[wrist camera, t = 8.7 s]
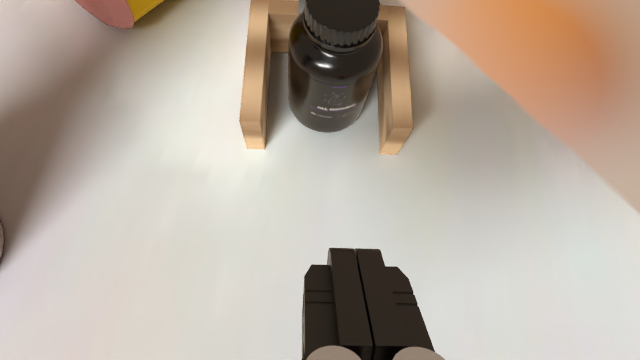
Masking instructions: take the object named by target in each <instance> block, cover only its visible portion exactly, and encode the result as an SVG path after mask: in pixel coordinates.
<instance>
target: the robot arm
mask: <svg viewBox="0 0 640 360" xmlns="http://www.w3.org/2000/svg"><path fill="white" fill-rule="evenodd" d="M3 243H4V237H3V228H2V225H1V223H0V258H1V255H2V250H3ZM302 360H445V359H444V358H443V357H441V356H440V355H439V354H437V353H435V351H434V348H433V346H432V343H431V340H430V337H429V334H428V332H427V329H426V326H425V323H424V321H423V318H422V315H421V312H420V309H419V307H418V306H417V301H416V298H415V296H414V295H413V290H412V287H411V284H410V282H409V279H408V278H407V277H406V276H405V275H404V274H403V272H402V271H401V270H400V269H399V268H398V267H385V265H384V261H383V258H382V254H381V251H380V250H379V249H351V248H329V251H328V261H327V265H311V267H310V268H309V270H308V271H307V273H306V275H305V277H304V294H303V311H302Z"/></svg>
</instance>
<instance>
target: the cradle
mask: <svg viewBox="0 0 640 360" xmlns="http://www.w3.org/2000/svg"><path fill="white" fill-rule="evenodd" d="M304 7H305V0H299V1H295V0H251V4H250V14H249V25H248V35H247V46H246V57H245V67H244V78H243V89H242V99H241V110H240V120H239V121H240V125H241V128H242V132H243V136H244V139H245V143H246V147H247V149H265V137H266V122H267V108H268V93H269V78H270V64H271V52H281V53H288V42H289V33H290V29H291V27H292V24H293V22H294V21H295V19H296V18H297V17H298V15H299V14H300V13H301V12H302V11H303V10H304ZM377 25H378V27H379V29H380V31H381V35H382V39H383V51H382V55H381V59H380V62H379V64H378V67H377V89H378V116H379V142H380V154H398V152H399V150H400V149H401V147H402V146H403V144H404V142H405V141H406V139H407V138H408V136H409V134H410V133H411V131H412V130H413V119H412V104H411V90H410V76H409V61H408V47H407V32H406V18H405V7H395V6H380V13H379V17H378V20H377Z"/></svg>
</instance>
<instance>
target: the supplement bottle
mask: <svg viewBox="0 0 640 360" xmlns="http://www.w3.org/2000/svg"><path fill="white" fill-rule="evenodd" d="M379 13H380V2H379V0H305V7H304V10H303V11H302V12H301V13H300V14H299V15H298V17H297V18H296V19H295V21H294V22H293V24H292V27H291V29H290V33H289V42H288V99H289V105H290V108H291V111H292V112H293V114H294V116H295V117H296V118H297V119H298V121H299V122H301V123H302V124H303V125H305V126H306V127H308V128H310V129H312V130H315V131H319V132H336V131H340V130H343V129H345V128H347V127H348V126H350V125H351V124H353V123H354V122H355V121H356V119H357V118H358V117H359V115H360V113H361V111H362V109H363V106H364V104H365V101H366V98H367V95H368V92H369V90H370V87H371V84H372V81H373V78H374V76H375V73H376V70H377V67H378V64H379V62H380V59H381V55H382V51H383V39H382V35H381V31H380V29H379V27H378V25H377V20H378V17H379Z"/></svg>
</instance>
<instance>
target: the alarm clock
mask: <svg viewBox="0 0 640 360" xmlns="http://www.w3.org/2000/svg"><path fill="white" fill-rule="evenodd" d="M75 1H76V2H77V3H78V4H80V5H81V6H82V7H83V8H84V9H86V10H87V11H88V12H90V13H91V14H92V15H94V16H95V17H97V18H98V19H100V20H101V21H102V22H104V23H105V24H107V25H111V26H114V27H119V28H123V29H127V28H133V25H134V22H135V21H137V20H138V19H139V18H141V17H142V16H144V15H145V14H146V13H148V12H149V11H150V10H152V9H153V8H154V7H156V6H157V5H158V4H160V3H161V2H163V1H164V0H75Z"/></svg>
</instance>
